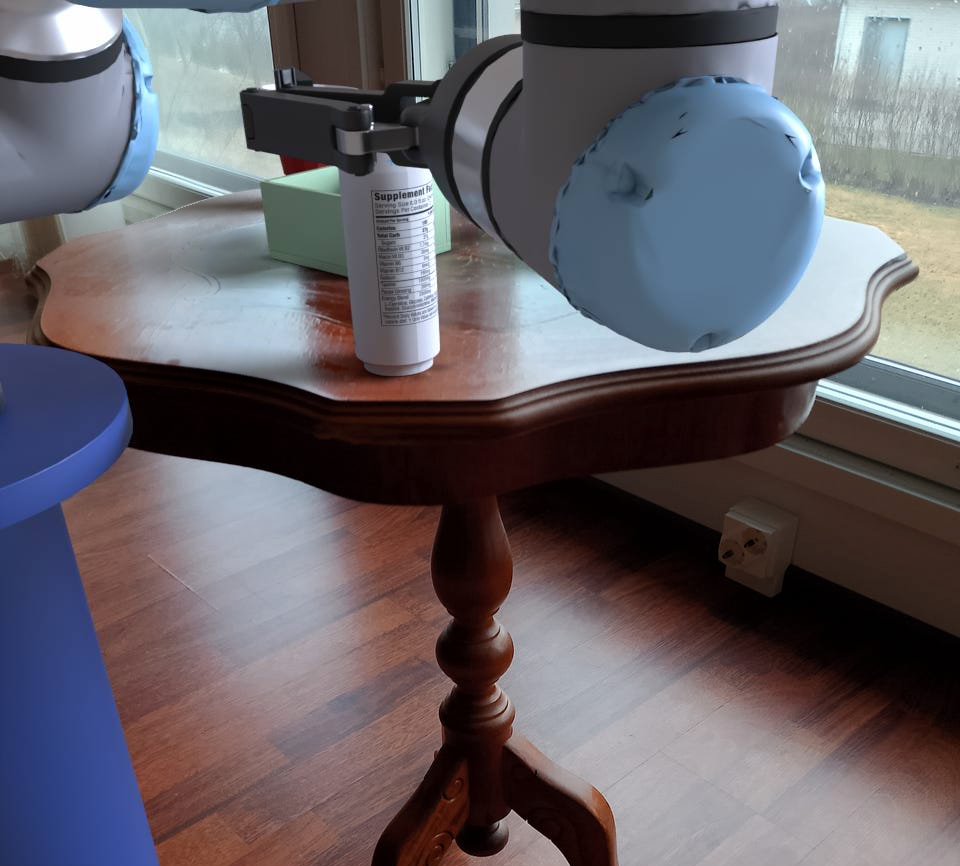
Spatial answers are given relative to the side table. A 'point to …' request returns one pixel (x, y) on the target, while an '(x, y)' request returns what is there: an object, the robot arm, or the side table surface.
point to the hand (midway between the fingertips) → (411, 86)
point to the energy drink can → (391, 267)
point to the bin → (322, 219)
